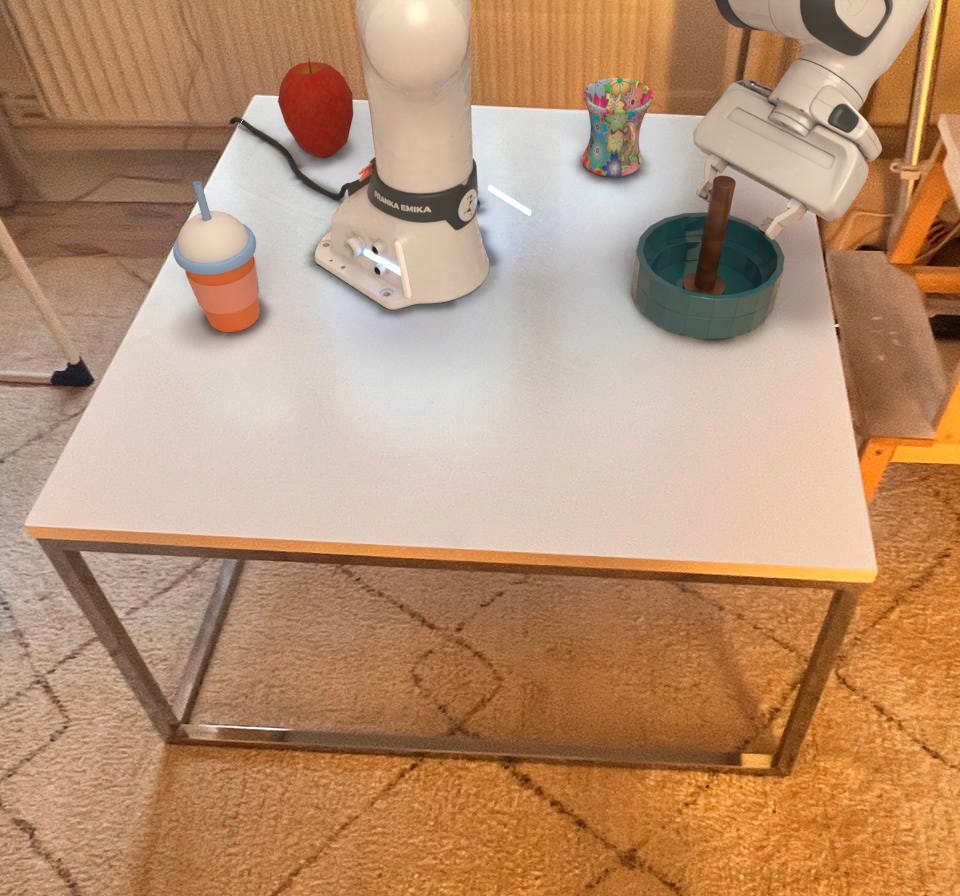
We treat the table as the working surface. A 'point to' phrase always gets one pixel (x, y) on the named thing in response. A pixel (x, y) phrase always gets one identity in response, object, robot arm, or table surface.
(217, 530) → the table surface
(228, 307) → the cup with straw
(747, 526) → the table surface
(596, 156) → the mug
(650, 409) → the table surface
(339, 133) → the apple
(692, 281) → the wooden peg stand
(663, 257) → the bowl
